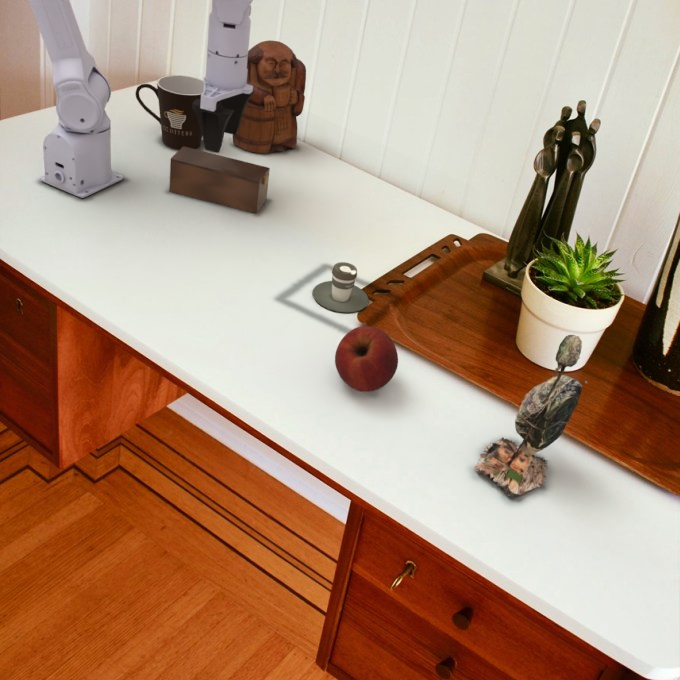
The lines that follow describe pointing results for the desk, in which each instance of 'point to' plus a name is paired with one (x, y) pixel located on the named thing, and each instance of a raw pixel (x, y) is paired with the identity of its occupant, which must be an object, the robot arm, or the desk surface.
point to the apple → (366, 359)
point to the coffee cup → (341, 291)
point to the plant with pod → (535, 427)
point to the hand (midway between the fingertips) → (221, 141)
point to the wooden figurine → (272, 99)
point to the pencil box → (219, 179)
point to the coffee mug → (177, 110)
